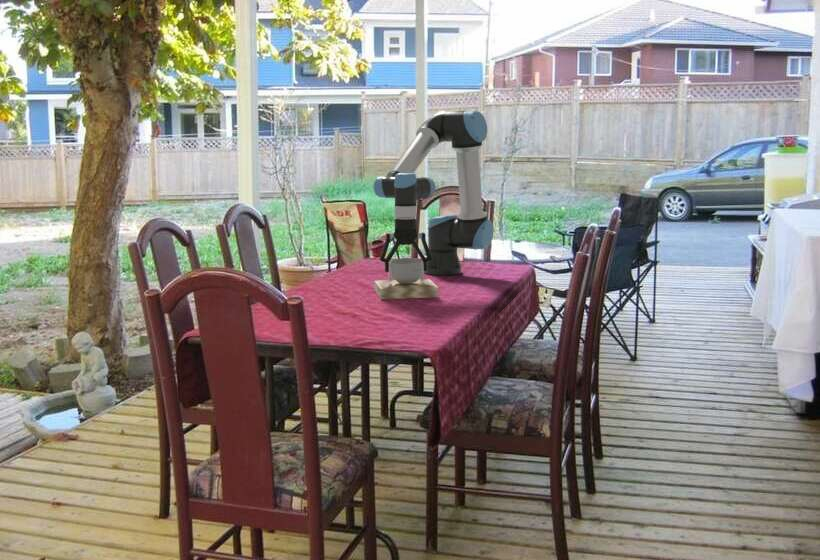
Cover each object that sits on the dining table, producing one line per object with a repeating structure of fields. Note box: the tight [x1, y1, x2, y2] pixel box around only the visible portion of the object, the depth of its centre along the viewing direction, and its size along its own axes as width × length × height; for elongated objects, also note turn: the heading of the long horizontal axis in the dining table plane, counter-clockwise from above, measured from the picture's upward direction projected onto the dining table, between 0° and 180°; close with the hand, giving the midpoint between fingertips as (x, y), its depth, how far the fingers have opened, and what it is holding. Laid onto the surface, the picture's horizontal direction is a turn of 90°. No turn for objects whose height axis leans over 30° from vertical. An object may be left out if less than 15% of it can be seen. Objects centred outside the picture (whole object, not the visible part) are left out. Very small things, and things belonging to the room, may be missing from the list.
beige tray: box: [374, 278, 439, 300], centre depth 309 cm, size 20×18×4 cm
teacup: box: [390, 257, 422, 283], centre depth 309 cm, size 14×11×8 cm
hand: (405, 280), depth 309 cm, fingers closed on teacup, 11 cm apart
